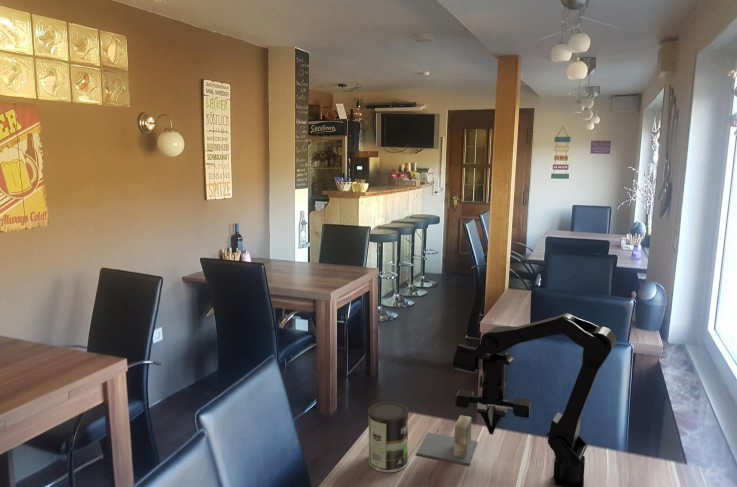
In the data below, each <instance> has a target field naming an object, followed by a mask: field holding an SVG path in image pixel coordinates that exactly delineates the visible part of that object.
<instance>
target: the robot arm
mask: <svg viewBox="0 0 737 487" xmlns="http://www.w3.org/2000/svg"><path fill="white" fill-rule="evenodd" d="M560 334H563V335H565V336H566V337H567V338H569V339H570V340H572V341H573V343H575V344H577V346H579V347H581V348H583V349H582V361H581V367H580V369H579V371H578V374H577V377H576V380H575V382H574V386H573V387H572V390H571V393H570V396H569V398H568V402H567V404H566V406H565V408H564V412H563V413H560V412H559V411H557V412H556V414H555V415H554V417H553V418H552V420H551V423H550V428H549V429H548V431H547V433H546V435H545V436H546V437H548V438H547V444H548V445H549V447H550V449H551V450H552V451H553V454H554V459H553V479H554V484H555V485H556V486H561V487H585V466H586V465H585V464H586V457H585V452H586V451H587V448H588V444H587V443H586V442H585V440H584V439H583V438H582V437H581V436H580V430H581V417H582V414H583V411H584V410H585V407H586V404H587V402H588V399H589V397H590V394H591V391H592V389H593V386H594V383H595V381H596V379H597V376H598V374H599V371H600V369H601V367H602V366H603V365H604V363H605V361H606V360H607V358H608V357H609V356H610V354H611V352H612V350H613V349H614V347H615V345H616V342H617V337H616V334H615V333H614V332H613V330H612V329H610V328H609V327H605V326H598V325H596V324H594V323H593V322H590V321H587V320H586V319H585V320H584V319H581V318H579V317H577V316H575V315H573V314H571V313H567V312H566V313H562V314H561V315H558V316H553V317H550V318H547V319H543V320H537V321H534V322H529V323H526V324H522V325H518V326H510V325H505V326H495V327H492V328H491V329H489V330H487V331H486V332H485V333H484V334H483V335H481V339H480V344H479V345H478V346H477V347H475V346H470V345H467V344H463V343H460V344H458V345H457V346H456V350H455V353H454V356H453V358H452V366H453V369H455V370H457V371H458V370H459V371H462V372H467V373H471V374H477V373H478V371H482V372H481V373H482V374H480V377H479V383H478V384H479V385H478V386H479V388H481V396H478V395H474V394H475V392H474V390H471V389H464V388H460V389H459V390H458V392H457V393H456V395H455V398H454V406H455V407H456V408H457V407H458V408H462V409H463V408H464V409H468V408H469V407H470V405H471V404H477V409H476V414H479V415H480V416H481V417H482V419H483V421H484V423H485V426H486V428H487V431H488V433H489V435H492V436H493V435H494V433H495V430H496V428H497V425H498V423H499V421H500V420H501V418H506V416H507V412H508V410H512V414H513V415H514V416H515V417H519V418H525V419H528V418H530V413H531V407H532V402H531V400H530V399H529V398H524V397H516V396H515V398H514V401H511V400H508V399H505V398H506V396H507V382H505V381H506V365H507V366H509V365H511V364H512V363H513V362H514V361H515V358H514V357H512V356H511V355H510V353H509V352H508V351H507V352H505V353H504V354H503V353H502V352H504V351H506V350H508V349H510V348H513V347H514V346H517V345H519V344H522V343H526V342H531V341H534V340H535V341H536V340H540V339H543V338H548V337H552V336H556V335H560ZM501 353H502V354H501ZM492 407H495V408H494V411H493V416H492Z"/></svg>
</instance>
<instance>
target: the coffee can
mask: <svg viewBox="0 0 737 487" xmlns="http://www.w3.org/2000/svg"><path fill="white" fill-rule="evenodd" d="M367 412H368V413H367V414H368V465H369V466H370V468H372V469H373V470H375V471H376V472H377V471H378V472H382V473H396V472H400V471H402V470H403V469H406V467H407V466H408V463H409V460H408V459H409V458H408V454H409V453H408V451H409V449H408V446H409V445H408V440H409V437H408V435H409V433H408V432H409V408H408V407H406V406H405V405H403V404H401V403H398V402H393V401H392V402H391V401H383V402H379V403H375V404H373V405H371V406H370V407H369V408H368V409H367Z"/></svg>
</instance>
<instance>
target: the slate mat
mask: <svg viewBox="0 0 737 487" xmlns="http://www.w3.org/2000/svg"><path fill="white" fill-rule="evenodd" d="M454 439H455V436H451V435H445V434H444V435H443V434H439V433H434V432H429V431H428V432H427V433H426V436H425V438H424V439H423V441H422V443H421V445H420V447H419V448H418V450H417V452H416V455H417V456H422V457H427V458H431V459H436V460H441V461H447V462H449V463H451V462H452V463H456V464H462V465H466V466H470V465H471V462H472V460H473V457H474V455H475V451H476V449H477V446H478V444H479V442H478V441H477V440H472V439H471V444H470V447H469V449H468V452H467V455H466V457H461V456H456V455H454Z"/></svg>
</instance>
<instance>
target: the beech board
mask: <svg viewBox="0 0 737 487" xmlns="http://www.w3.org/2000/svg"><path fill="white" fill-rule="evenodd" d="M454 437H455V439H454V455H456V456H461V457H466V455H467V452H468V449H469V447H470V444H471V440H472V417H471V416H467V415H461V414H460V415H459V417H458V419H457V421H456V423H455V426H454Z"/></svg>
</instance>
